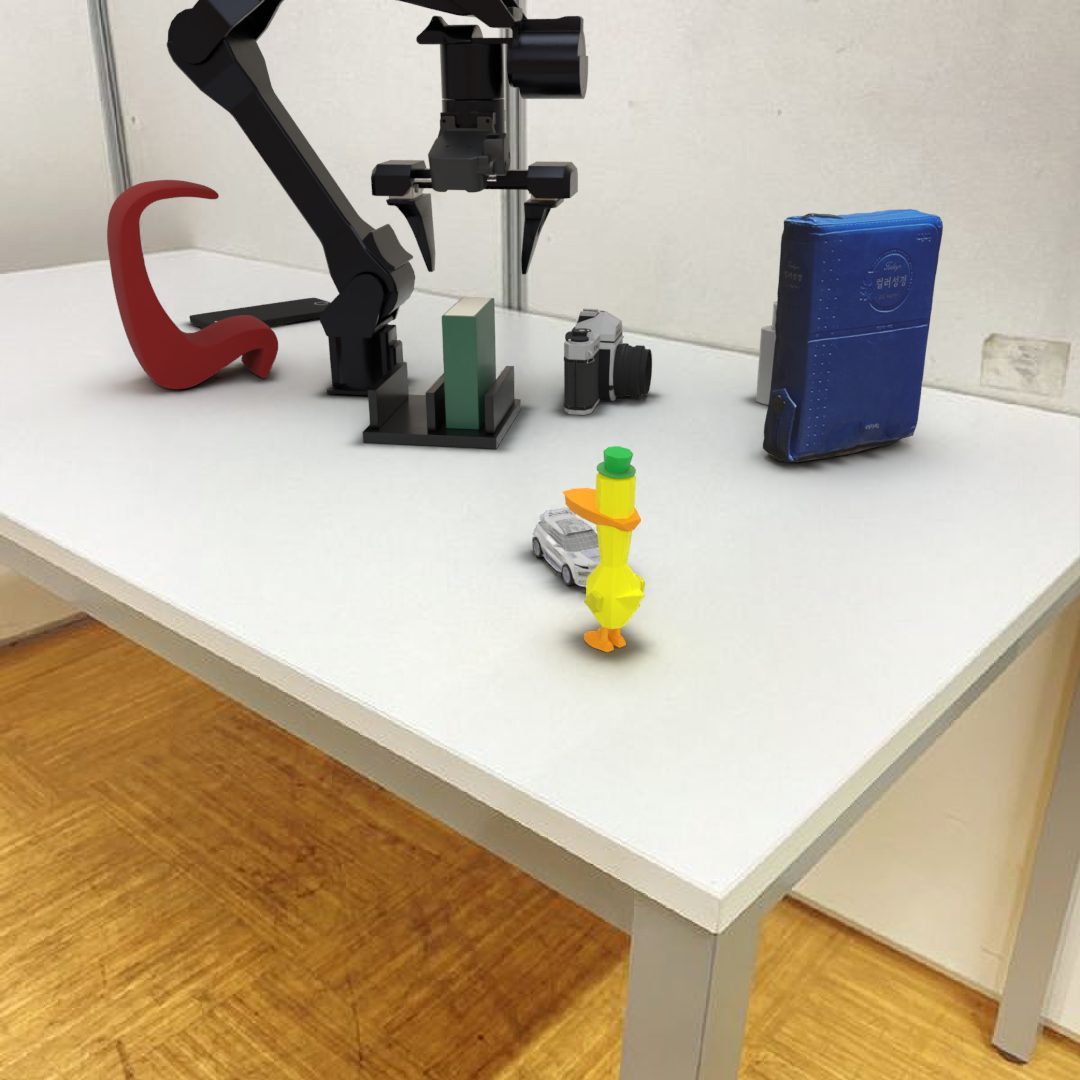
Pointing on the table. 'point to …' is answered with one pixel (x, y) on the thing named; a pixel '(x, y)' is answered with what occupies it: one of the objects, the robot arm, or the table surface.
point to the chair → (145, 321)
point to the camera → (602, 363)
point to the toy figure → (611, 546)
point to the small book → (468, 360)
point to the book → (850, 331)
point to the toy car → (567, 545)
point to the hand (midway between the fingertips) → (477, 272)
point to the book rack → (435, 413)
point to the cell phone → (268, 312)
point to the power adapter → (766, 360)
